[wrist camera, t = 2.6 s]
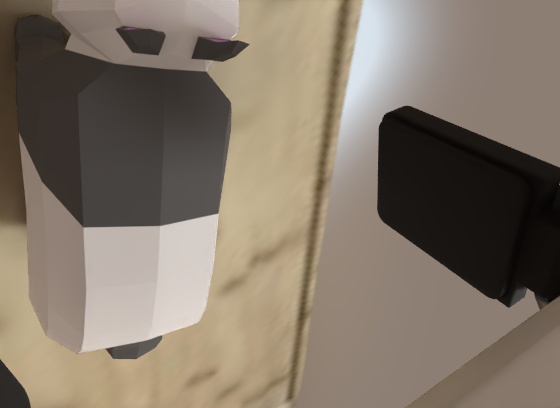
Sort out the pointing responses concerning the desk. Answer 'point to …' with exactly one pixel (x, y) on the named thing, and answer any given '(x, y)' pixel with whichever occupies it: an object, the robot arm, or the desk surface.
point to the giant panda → (122, 165)
